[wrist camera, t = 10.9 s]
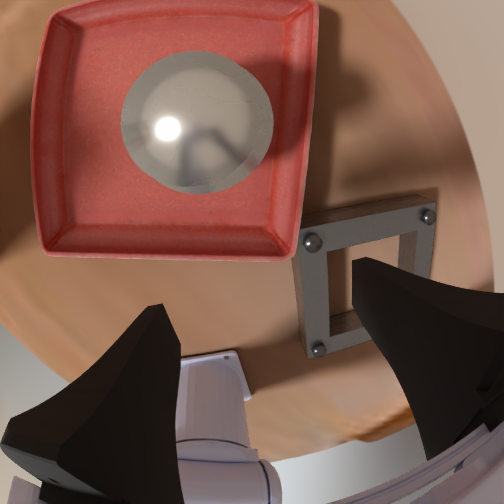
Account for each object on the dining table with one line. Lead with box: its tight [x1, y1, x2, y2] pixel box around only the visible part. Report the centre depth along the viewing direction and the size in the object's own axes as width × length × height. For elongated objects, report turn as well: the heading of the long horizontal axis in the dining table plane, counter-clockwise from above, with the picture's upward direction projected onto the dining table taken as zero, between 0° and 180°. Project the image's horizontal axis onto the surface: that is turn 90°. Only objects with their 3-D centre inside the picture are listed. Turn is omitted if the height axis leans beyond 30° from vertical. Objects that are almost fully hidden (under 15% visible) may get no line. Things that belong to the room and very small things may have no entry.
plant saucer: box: [30, 0, 319, 262], centre depth 14 cm, size 18×18×3 cm
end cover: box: [121, 51, 274, 194], centre depth 10 cm, size 7×7×7 cm
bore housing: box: [291, 195, 436, 359], centre depth 21 cm, size 12×12×3 cm
